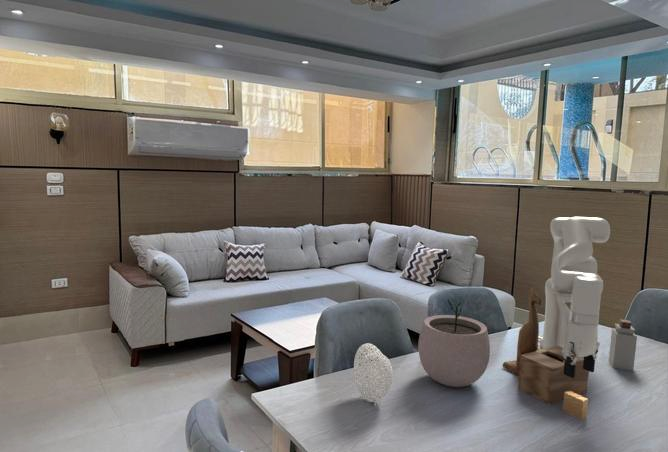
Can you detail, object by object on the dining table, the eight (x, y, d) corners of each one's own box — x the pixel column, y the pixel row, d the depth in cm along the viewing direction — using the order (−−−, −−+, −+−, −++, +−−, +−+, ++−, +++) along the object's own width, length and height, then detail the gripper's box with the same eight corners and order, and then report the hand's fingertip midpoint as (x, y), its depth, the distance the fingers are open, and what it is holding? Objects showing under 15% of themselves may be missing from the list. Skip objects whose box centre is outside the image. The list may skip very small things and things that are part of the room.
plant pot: (499, 382, 157) (505, 299, 154) (467, 406, 140) (473, 313, 136) (438, 361, 173) (443, 285, 170) (403, 381, 156) (407, 297, 152)
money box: (517, 388, 153) (520, 355, 151) (554, 377, 163) (557, 345, 161) (549, 405, 142) (552, 368, 141) (586, 391, 152) (590, 357, 151)
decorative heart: (398, 414, 134) (401, 359, 132) (365, 418, 131) (367, 362, 129) (376, 386, 151) (378, 337, 149) (346, 389, 148) (348, 340, 146)
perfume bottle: (628, 363, 177) (633, 319, 175) (633, 370, 171) (638, 324, 169) (608, 360, 179) (613, 317, 177) (613, 367, 173) (617, 322, 171)
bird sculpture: (525, 381, 159) (536, 294, 155) (501, 367, 170) (510, 285, 165) (548, 377, 164) (559, 292, 159) (523, 363, 174) (532, 283, 170)
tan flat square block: (562, 410, 139) (564, 392, 139) (567, 408, 141) (569, 390, 140) (581, 420, 134) (583, 401, 134) (586, 418, 135) (588, 399, 135)
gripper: (588, 311, 141) (583, 364, 143) (554, 318, 133) (549, 373, 134) (613, 318, 135) (607, 373, 137) (578, 325, 126) (573, 383, 128)
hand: (578, 373), depth 135 cm, fingers open, 9 cm apart
